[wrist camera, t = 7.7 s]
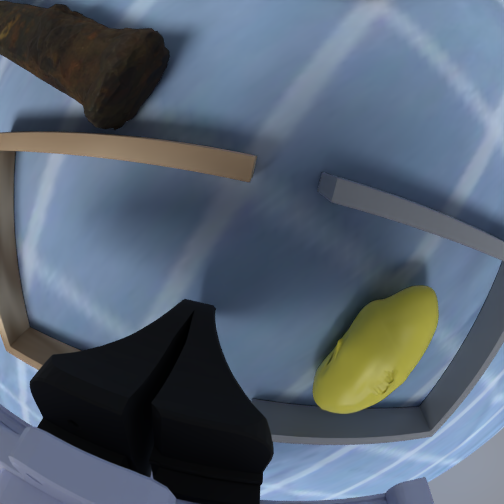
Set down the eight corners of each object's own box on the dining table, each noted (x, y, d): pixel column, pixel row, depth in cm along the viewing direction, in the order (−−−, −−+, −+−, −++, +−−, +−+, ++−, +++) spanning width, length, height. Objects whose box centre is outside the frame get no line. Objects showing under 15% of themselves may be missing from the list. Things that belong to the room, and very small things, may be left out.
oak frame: (207, 398, 15) (200, 430, 13) (25, 331, 15) (6, 350, 12) (257, 155, 11) (255, 156, 8) (10, 132, 10) (-21, 134, 8)
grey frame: (421, 412, 16) (431, 436, 13) (249, 406, 15) (247, 438, 13) (514, 246, 11) (540, 262, 9) (321, 171, 11) (337, 177, 8)
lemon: (286, 366, 14) (290, 423, 11) (392, 251, 12) (434, 290, 8) (339, 392, 15) (352, 443, 11) (438, 295, 12) (476, 336, 9)
